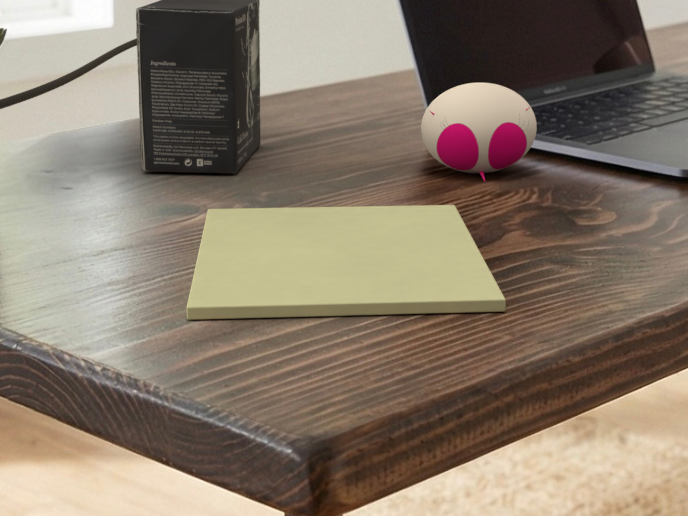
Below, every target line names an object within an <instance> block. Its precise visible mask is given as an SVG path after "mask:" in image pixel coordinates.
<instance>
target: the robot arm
mask: <svg viewBox="0 0 688 516" xmlns="http://www.w3.org/2000/svg"><path fill="white" fill-rule="evenodd" d="M134 47H137V37H136V38H134V39H133V38H132V39H131V40H128V41H127V42H124V43H123V44H119V45H118V46H116V47H114V48H113V49H110V50H108V51H107V52H104V53H103V54H102V55H99V56H98V57H96V58H95V59H93V60H91V61H89V62H87V63H86V64H84V65H81V67H78V68H76V69H75V70H73V71H71V72H68V73H67V74H64V75H62V76H60V77H58V78H55V79H53V80H51V81H49V82H45V83H44V84H40V85H38V86H36V87H33V88H30V89H27V90H25V91H22V92H19V93H16V94H13V95H10V96H7V97H3V98H1V99H0V110H3V109H5V108H8V107H12V106H14V105H17V104H20V103H23V102H26V101H28V100H31V99H34V98H37V97H39V96H42V95H44V94H47V93H49V92H52V91H54V90H56V89H58V88H60V87H62V86H64V85H66V84H69V83H70V82H73V81H74V80H77V79H78V78H80V77H82V76H84V75H86V74H87V73H89V72H91V71H92V70H94V69H96V68H98V67H99V66H101V65H103V64H104V63H106V62H107V61H109V60H110V59H112V58H114V57H116V56H118V55H119V54H122V53H123V52H126V51H128V50H130V49H132V48H134Z"/></svg>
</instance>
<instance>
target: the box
mask: <svg viewBox="0 0 688 516" xmlns="http://www.w3.org/2000/svg"><path fill="white" fill-rule="evenodd" d="M260 6H261V5H260V0H157V1H154V2H151V3H148V4H146V5H143V6H139V7H137V8H136V9H135V22H136V32H135V33H136V35H135V36H136V38H137V46H136V55H137V59H136V60H137V81H138V82H137V83H138V111H139V149H140V169H141V171H143V172H147V173H148V172H150V173H151V172H152V173H153V172H155V173H157V172H158V173H162V172H163V173H198V174H202V173H203V174H237V172H238V171H239V170H240V169H241V168H242V166H243V165H245V163H247V160H248V159H249V158H250V157H251V156H252V155H253V154H254V152H255V151H256V150H257V149H258V148H259V147H260V145H261V142H262V141H261V60H260V59H261V55H260V53H261V47H260V44H261V41H260V39H261V38H260V37H261V35H260V34H261V33H260Z"/></svg>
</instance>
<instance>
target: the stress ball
mask: <svg viewBox="0 0 688 516" xmlns="http://www.w3.org/2000/svg"><path fill="white" fill-rule="evenodd" d="M537 127H538V126H537V118H536V114H535V112H534V110H533V108H532V105H530V104H529V103H528V101H527V100H526V99H525V98H524V97H523V96H522V95H520V94H519V93H517V92H516V91H515V90H513V89H511V88H508V87H506V86H504V85H500V84H496V83H491V82H469V83H464V84H460V85H456V86H454V87H452V88H449V89H447V90H445V91H444V92H442V93H441V94H438V96H437V97H436V98H435V99H433V100H432V101H431V102H430V104H428V106H427V108H426V110H425V111H424V113H423V116H422V118H421V124H420V134H421V139H422V142H423V145H424V147H425V148H426V150H427V151H428V153H429V154H430V155H431V156H432V157H433V158H434V159H435V160H436V161H437V162H439V163H440V164H441V165H444V166H445V167H447V168H449V169H452V170H455V171H458V172H462V173H465V174H466V173H467V174H480V176H481V178H482V179H483V181H484V182H486V179H485V174H489V173H495V172H498V171H501V170H504V169H507V168H508V167H511V166H513V165H514V164H516V163H517V162H519V161H520V160H522V158H523V157H525V156H526V154H527V153H529V151H530V149H531V148H532V146H533V144H534V142H535V139H536V136H537V131H538V128H537Z"/></svg>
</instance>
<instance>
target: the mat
mask: <svg viewBox="0 0 688 516" xmlns="http://www.w3.org/2000/svg"><path fill="white" fill-rule="evenodd" d="M466 225H467V224H465V222H464V219H463V218H462V216H461V214H460V212H459V210H458V209H457V207H456V204H428V205H425V204H424V205H423V204H422V205H370V206H369V205H367V206H366V205H365V206H315V207H314V206H306V207H303V206H302V207H300V206H299V207H251V208H250V207H249V208H248V207H245V208H244V207H243V208H242V207H241V208H240V207H239V208H208V209H207V212H206V217H205V221H204V226H203V230H202V235H201V240H200V244H199V248H198V254H197V258H196V263H195V266H194V272H193V275H192V276H193V277H192V281H191V285H190V290H189V295H188V299H187V304H186V308H185V309H186V319H187V320H189V321H191V320H193V321H194V320H228V319H229V320H230V319H231V320H233V319H266V318H267V319H268V318H270V319H271V318H307V317H308V318H309V317H310V318H312V317H347V316H350V317H351V316H385V315H386V316H387V315H426V314H427V315H428V314H461V313H462V314H463V313H503V312H506V310H507V309H506V308H507V306H506V305H507V300H506V298H505V295H504V294H503V292H502V291H501V289H500V286H499V285H498V283H497V281H496V279H495V276H494V275H493V274H492V272H491V269H490V267H489V266H488V264H487V262H486V261H485V259H484V257H483V255H482V253H481V251H480V250H479V248H478V246H477V244H476V242H475V240H474V238H473V236H472V234H471V232H470V231H469V229H468V227H467V226H466Z"/></svg>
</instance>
